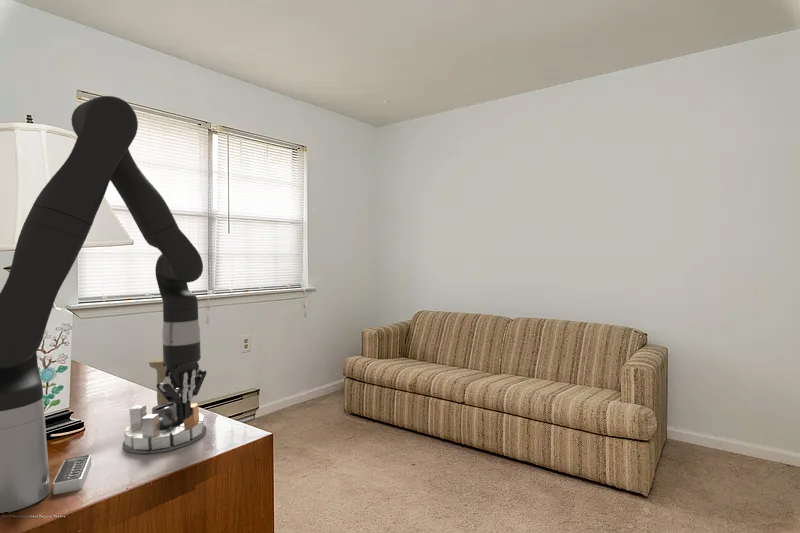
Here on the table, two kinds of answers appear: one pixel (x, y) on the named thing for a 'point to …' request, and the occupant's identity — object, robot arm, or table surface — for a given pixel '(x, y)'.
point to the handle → (159, 377)
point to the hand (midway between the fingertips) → (183, 418)
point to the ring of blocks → (165, 422)
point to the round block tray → (148, 433)
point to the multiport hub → (72, 474)
